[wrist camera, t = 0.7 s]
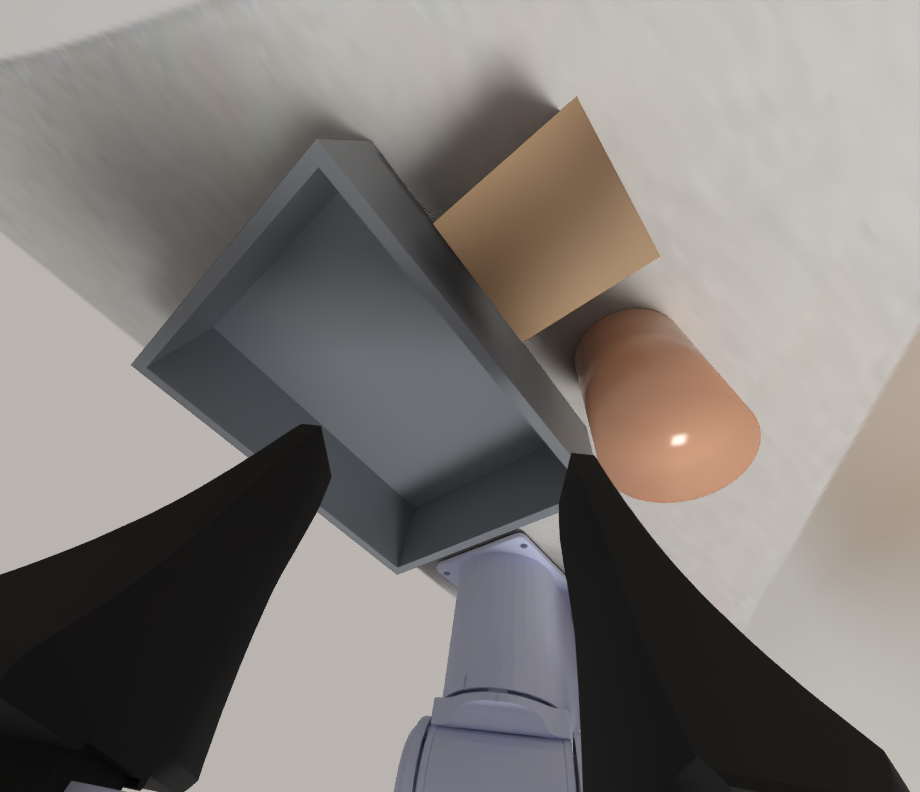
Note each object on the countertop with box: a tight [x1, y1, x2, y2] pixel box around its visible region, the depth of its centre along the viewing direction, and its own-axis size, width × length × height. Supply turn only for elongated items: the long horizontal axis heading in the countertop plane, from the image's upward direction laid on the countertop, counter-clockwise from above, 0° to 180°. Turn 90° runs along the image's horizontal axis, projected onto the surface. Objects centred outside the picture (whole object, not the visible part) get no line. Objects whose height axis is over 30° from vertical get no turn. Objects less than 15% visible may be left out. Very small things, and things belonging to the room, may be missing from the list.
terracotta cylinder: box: [575, 308, 761, 503], centre depth 16 cm, size 5×5×7 cm
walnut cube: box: [433, 96, 660, 343], centre depth 14 cm, size 5×5×5 cm
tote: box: [131, 139, 593, 575], centre depth 19 cm, size 17×13×5 cm
